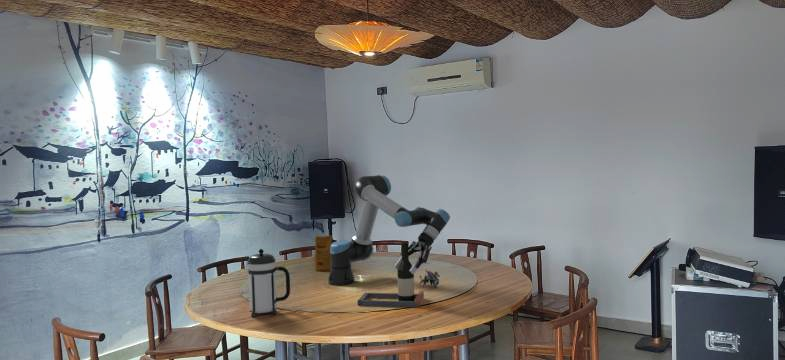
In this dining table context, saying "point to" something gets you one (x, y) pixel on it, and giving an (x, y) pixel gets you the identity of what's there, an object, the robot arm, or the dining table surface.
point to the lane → (365, 302)
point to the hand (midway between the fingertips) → (403, 270)
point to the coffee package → (322, 253)
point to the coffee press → (264, 283)
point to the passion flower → (431, 279)
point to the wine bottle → (405, 276)
